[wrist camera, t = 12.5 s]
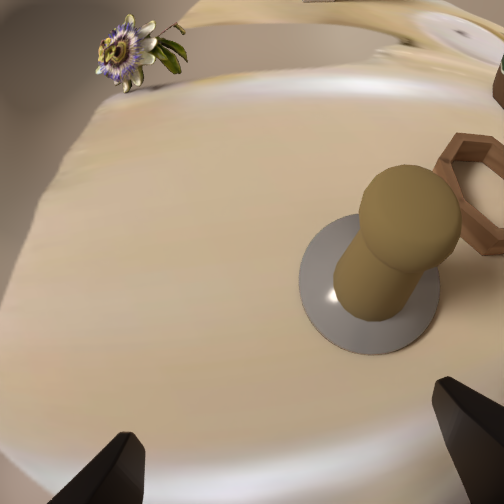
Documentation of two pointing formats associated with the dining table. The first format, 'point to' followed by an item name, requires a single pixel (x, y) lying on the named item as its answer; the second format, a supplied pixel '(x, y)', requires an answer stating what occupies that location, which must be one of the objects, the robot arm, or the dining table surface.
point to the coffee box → (318, 0)
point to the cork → (396, 241)
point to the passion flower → (136, 53)
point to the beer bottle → (499, 85)
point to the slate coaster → (342, 322)
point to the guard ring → (473, 222)
